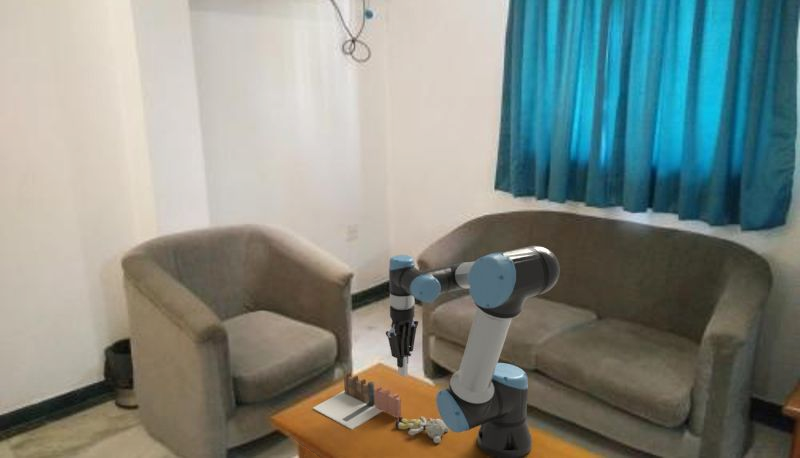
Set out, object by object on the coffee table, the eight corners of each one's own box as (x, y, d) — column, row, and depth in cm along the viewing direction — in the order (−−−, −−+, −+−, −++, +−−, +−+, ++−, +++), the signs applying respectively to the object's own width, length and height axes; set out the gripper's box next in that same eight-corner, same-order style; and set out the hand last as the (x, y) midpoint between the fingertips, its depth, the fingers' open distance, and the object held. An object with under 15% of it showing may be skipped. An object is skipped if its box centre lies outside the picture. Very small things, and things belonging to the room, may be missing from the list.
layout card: (392, 404, 188) (392, 403, 188) (352, 429, 175) (352, 428, 175) (353, 386, 200) (353, 385, 200) (312, 408, 187) (312, 407, 187)
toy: (403, 406, 180) (448, 412, 174) (405, 422, 182) (450, 429, 175) (390, 421, 173) (437, 428, 166) (392, 438, 174) (439, 446, 167)
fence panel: (374, 406, 186) (374, 386, 185) (377, 404, 187) (377, 384, 186) (398, 417, 180) (397, 397, 178) (401, 415, 181) (400, 395, 179)
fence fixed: (376, 405, 188) (375, 383, 186) (371, 407, 187) (371, 385, 185) (348, 391, 197) (347, 370, 195) (343, 394, 195) (342, 372, 193)
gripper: (406, 296, 187) (407, 363, 193) (378, 308, 178) (380, 378, 184) (425, 302, 182) (425, 370, 188) (397, 315, 173) (397, 386, 179)
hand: (402, 374), depth 186 cm, fingers closed
